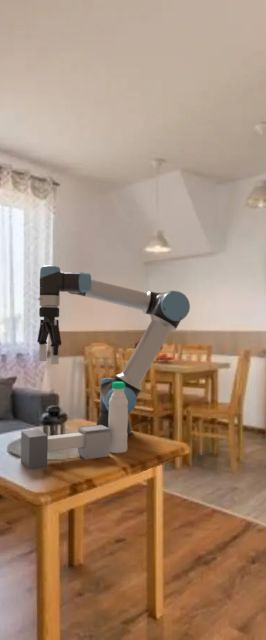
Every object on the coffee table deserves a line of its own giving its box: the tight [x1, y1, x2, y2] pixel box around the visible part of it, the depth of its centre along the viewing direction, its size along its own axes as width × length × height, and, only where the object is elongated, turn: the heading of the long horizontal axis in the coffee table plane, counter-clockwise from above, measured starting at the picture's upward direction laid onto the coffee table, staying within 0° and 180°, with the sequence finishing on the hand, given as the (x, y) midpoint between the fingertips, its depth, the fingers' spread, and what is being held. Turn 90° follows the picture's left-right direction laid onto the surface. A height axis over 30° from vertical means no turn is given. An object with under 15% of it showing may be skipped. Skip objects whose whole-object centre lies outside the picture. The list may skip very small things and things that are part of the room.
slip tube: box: [47, 432, 85, 453], centre depth 157 cm, size 19×4×4 cm, turn 120°
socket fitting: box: [20, 429, 49, 470], centre depth 152 cm, size 6×9×10 cm, turn 30°
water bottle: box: [108, 382, 129, 454], centre depth 168 cm, size 7×7×25 cm
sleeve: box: [77, 424, 111, 460], centre depth 162 cm, size 9×7×10 cm
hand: (48, 362), depth 177 cm, fingers open, 13 cm apart
